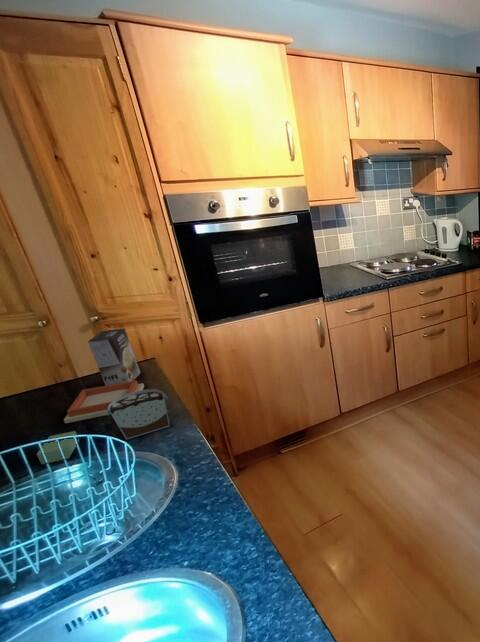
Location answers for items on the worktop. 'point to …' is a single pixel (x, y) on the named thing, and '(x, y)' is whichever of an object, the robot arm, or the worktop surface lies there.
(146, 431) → the food container
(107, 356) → the coffee box
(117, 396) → the orange tray
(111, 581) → the worktop surface
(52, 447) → the green pad
